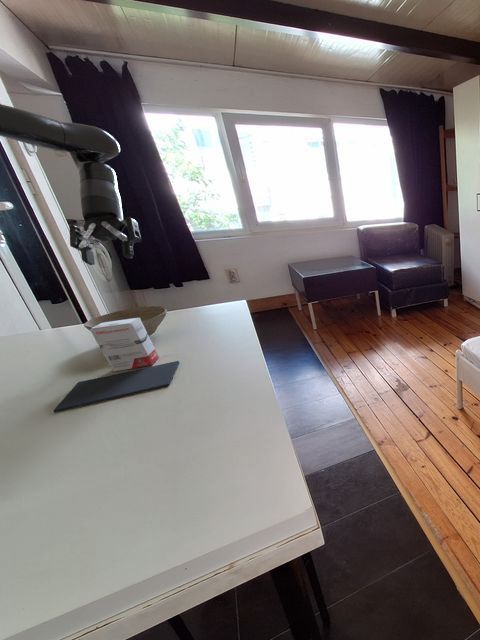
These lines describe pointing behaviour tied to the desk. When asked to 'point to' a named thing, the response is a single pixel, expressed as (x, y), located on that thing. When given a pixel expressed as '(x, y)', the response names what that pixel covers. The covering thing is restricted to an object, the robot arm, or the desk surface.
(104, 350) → the ink box
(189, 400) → the desk surface
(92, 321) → the bowl
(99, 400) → the mat
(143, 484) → the desk surface
